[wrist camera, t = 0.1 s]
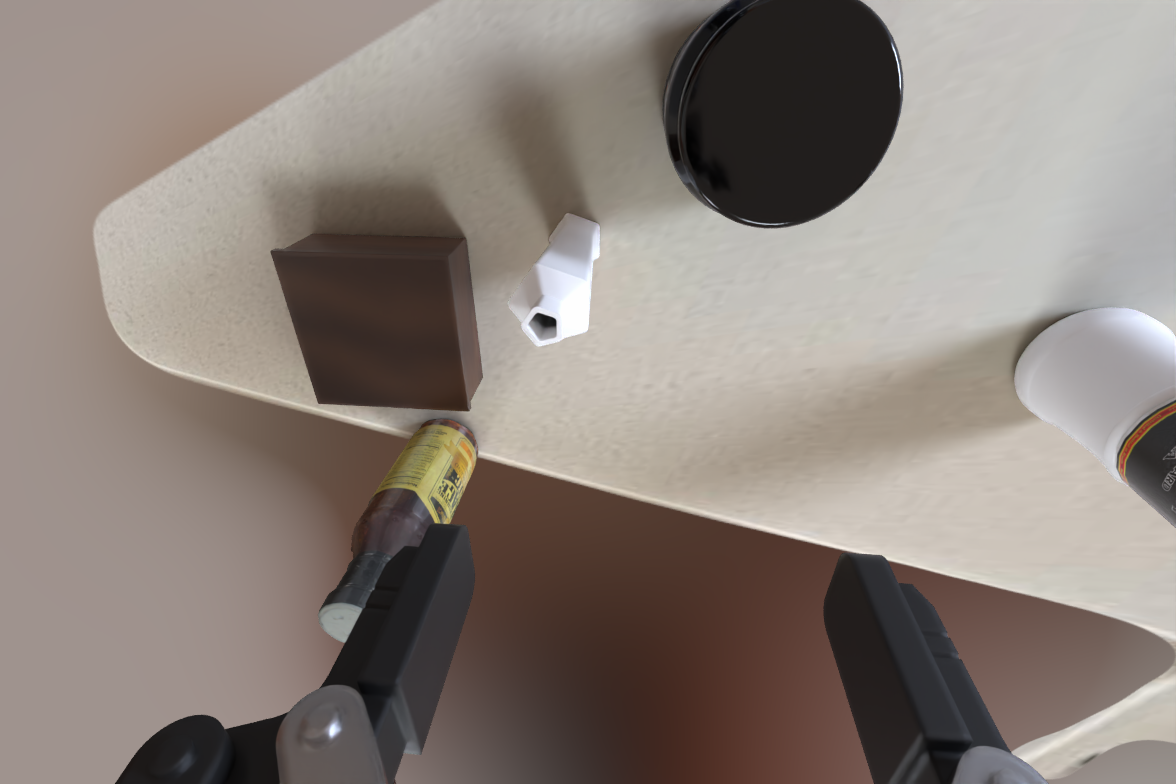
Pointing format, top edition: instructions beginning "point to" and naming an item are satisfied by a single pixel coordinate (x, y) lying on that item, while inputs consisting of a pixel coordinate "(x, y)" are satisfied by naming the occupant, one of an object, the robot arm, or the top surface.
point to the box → (384, 319)
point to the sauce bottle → (402, 514)
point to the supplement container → (782, 107)
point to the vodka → (1110, 395)
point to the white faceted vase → (559, 284)
